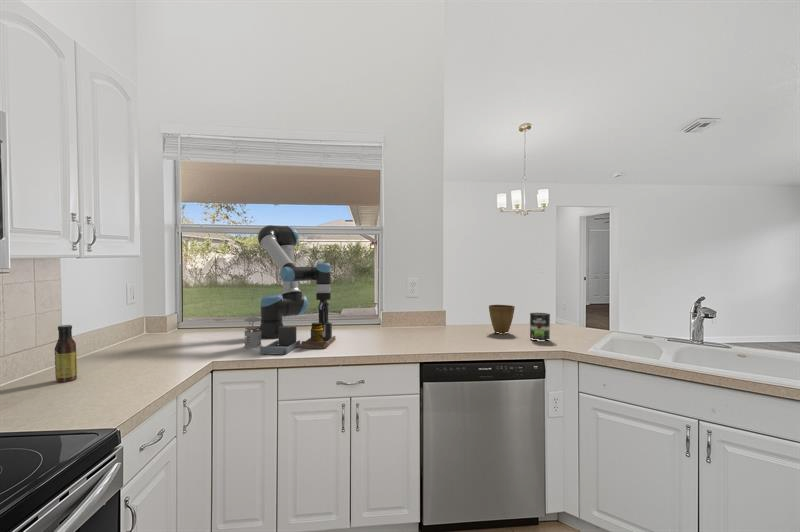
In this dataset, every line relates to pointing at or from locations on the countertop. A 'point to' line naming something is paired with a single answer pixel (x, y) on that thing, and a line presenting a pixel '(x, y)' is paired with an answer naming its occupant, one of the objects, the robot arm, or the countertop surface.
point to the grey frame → (282, 342)
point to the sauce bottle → (65, 355)
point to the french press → (252, 333)
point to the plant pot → (501, 317)
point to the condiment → (316, 332)
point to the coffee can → (540, 326)
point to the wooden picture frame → (320, 344)
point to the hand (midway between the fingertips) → (323, 336)
